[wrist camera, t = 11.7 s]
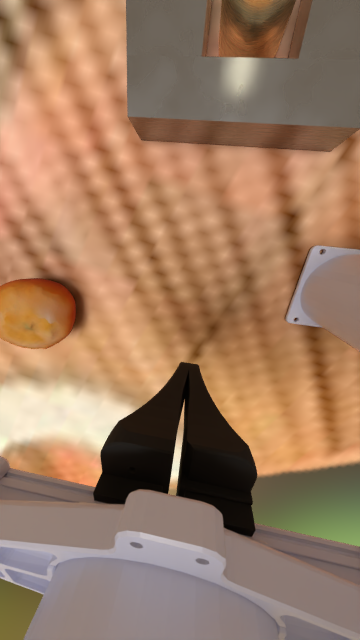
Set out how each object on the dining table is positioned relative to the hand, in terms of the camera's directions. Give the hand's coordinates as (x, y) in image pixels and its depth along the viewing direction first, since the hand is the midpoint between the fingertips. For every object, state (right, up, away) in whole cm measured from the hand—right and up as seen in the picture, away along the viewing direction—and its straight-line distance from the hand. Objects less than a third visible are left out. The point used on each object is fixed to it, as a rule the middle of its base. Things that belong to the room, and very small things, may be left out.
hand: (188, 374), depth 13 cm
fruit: (-17, +6, +10) cm, 20 cm away
